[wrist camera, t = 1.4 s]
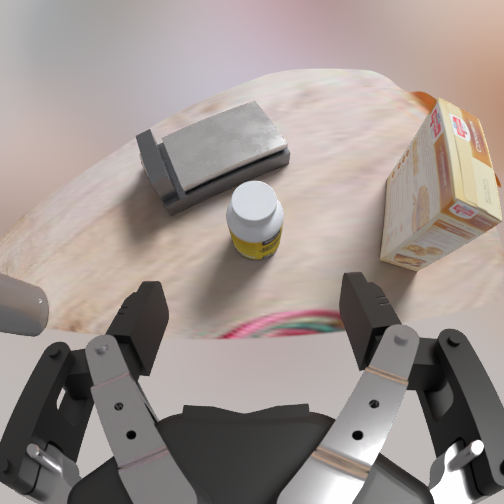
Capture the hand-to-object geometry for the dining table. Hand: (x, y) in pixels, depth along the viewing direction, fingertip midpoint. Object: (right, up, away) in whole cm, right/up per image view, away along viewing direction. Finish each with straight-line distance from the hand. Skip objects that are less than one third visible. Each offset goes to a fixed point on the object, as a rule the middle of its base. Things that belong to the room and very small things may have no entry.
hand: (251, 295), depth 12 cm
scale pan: (-4, +18, +28) cm, 34 cm away
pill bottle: (+1, +4, +27) cm, 27 cm away
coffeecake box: (+24, +6, +27) cm, 37 cm away
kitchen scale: (-6, +17, +31) cm, 36 cm away
